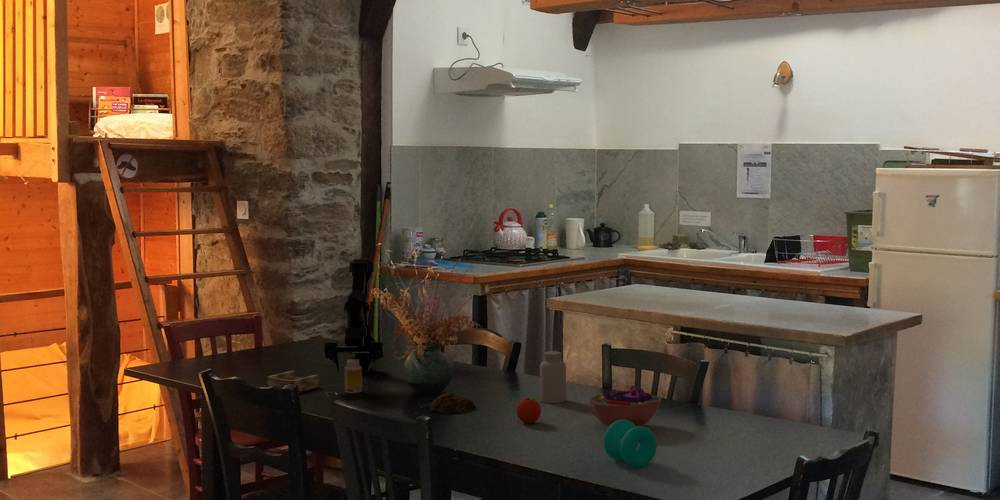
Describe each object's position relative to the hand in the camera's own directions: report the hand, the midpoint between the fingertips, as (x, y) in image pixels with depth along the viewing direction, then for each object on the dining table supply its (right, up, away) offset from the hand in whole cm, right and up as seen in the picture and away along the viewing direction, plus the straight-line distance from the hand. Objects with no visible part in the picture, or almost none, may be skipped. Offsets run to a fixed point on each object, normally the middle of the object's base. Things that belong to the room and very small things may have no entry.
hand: (352, 371), depth 325 cm
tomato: (+55, -10, -37) cm, 67 cm away
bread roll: (+32, -9, -21) cm, 39 cm away
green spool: (+78, -13, -76) cm, 110 cm away
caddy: (-20, -6, +8) cm, 23 cm away
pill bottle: (+63, -8, -11) cm, 64 cm away
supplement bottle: (0, -7, +2) cm, 7 cm away
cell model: (+81, -10, -42) cm, 92 cm away
